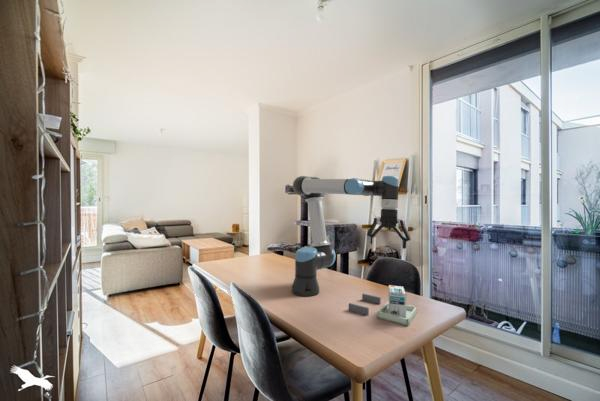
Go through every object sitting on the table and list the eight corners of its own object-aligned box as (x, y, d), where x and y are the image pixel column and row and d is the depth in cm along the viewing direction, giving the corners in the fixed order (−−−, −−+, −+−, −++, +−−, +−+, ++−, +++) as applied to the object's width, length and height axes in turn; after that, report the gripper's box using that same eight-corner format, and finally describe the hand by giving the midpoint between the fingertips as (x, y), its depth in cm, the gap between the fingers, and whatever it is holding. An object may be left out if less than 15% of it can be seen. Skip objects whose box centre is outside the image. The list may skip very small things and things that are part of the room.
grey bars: (348, 310, 122) (348, 303, 122) (363, 299, 136) (363, 293, 136) (367, 315, 117) (367, 308, 117) (380, 303, 131) (380, 297, 131)
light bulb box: (406, 319, 112) (406, 293, 112) (389, 317, 114) (389, 292, 114) (403, 309, 122) (403, 286, 122) (387, 307, 124) (388, 284, 124)
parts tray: (377, 317, 115) (377, 311, 115) (389, 305, 128) (389, 300, 128) (408, 326, 107) (408, 319, 108) (417, 312, 121) (417, 306, 121)
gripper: (361, 207, 132) (359, 250, 132) (414, 210, 117) (412, 258, 118) (367, 207, 138) (365, 248, 138) (419, 210, 123) (417, 256, 124)
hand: (387, 253), depth 128 cm, fingers open, 13 cm apart
